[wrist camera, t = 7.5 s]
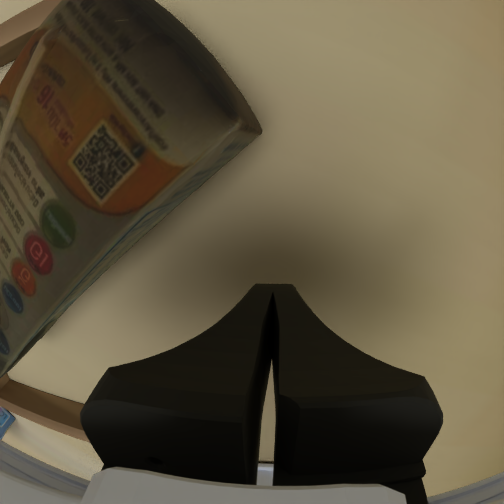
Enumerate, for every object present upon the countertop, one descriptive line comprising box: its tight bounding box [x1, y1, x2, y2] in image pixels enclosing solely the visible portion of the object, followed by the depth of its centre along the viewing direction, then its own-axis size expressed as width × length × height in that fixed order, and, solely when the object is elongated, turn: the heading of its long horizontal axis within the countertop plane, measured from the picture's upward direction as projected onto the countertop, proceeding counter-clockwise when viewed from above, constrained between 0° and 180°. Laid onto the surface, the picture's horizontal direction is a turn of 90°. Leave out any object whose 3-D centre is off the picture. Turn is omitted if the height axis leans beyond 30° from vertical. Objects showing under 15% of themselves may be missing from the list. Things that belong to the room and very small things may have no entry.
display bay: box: [0, 0, 90, 442], centre depth 14 cm, size 27×18×2 cm, turn 1°
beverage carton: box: [0, 0, 262, 378], centre depth 11 cm, size 8×19×7 cm, turn 129°
